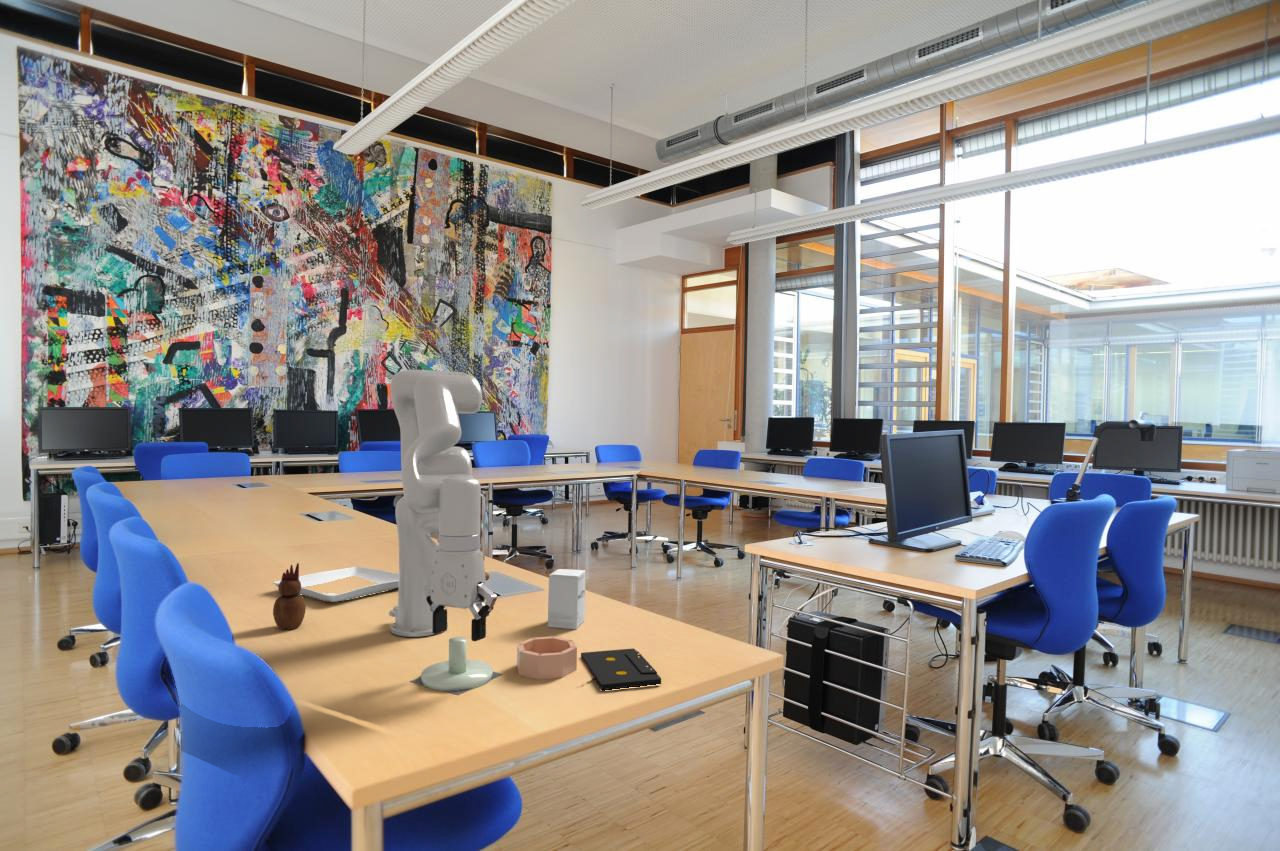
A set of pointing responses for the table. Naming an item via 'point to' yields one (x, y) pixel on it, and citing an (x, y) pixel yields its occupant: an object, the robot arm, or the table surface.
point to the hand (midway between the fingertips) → (458, 635)
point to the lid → (457, 670)
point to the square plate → (381, 577)
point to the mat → (418, 681)
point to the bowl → (546, 657)
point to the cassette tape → (620, 669)
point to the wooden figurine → (289, 601)
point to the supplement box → (566, 598)
